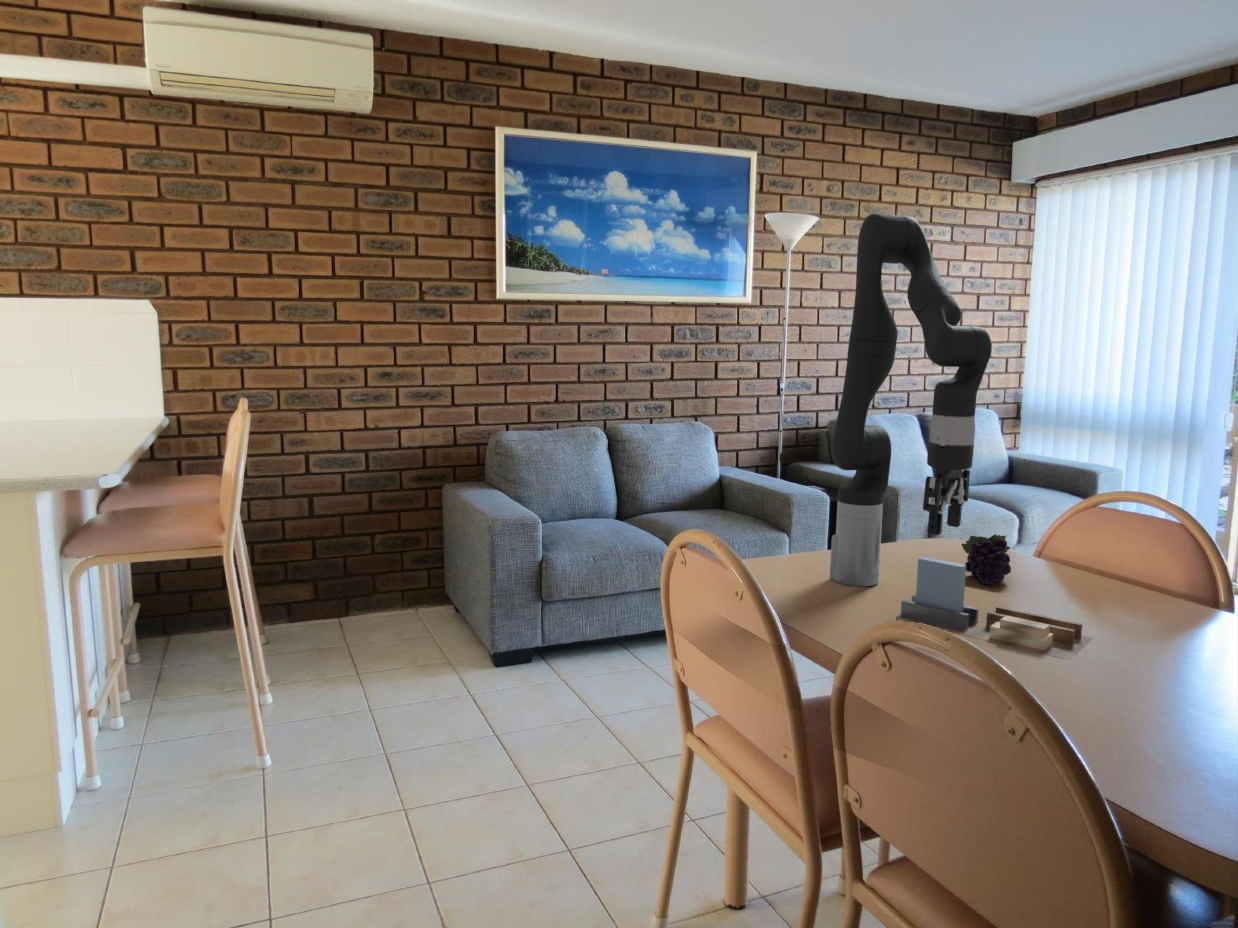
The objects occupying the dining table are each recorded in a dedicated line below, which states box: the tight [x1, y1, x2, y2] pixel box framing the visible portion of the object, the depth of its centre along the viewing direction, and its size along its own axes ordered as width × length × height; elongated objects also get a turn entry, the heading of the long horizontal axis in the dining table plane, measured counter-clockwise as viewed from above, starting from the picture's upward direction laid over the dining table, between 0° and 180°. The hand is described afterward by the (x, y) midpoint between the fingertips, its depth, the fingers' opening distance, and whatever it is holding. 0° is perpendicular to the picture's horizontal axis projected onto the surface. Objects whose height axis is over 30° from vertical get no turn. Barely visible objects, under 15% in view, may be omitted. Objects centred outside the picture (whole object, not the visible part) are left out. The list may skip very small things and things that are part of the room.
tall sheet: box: [915, 556, 967, 613], centre depth 158 cm, size 8×2×10 cm, turn 46°
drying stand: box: [895, 594, 981, 633], centre depth 159 cm, size 12×9×4 cm
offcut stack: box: [989, 615, 1053, 651], centre depth 147 cm, size 9×4×4 cm, turn 48°
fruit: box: [961, 533, 1012, 586], centre depth 188 cm, size 10×11×15 cm
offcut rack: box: [961, 605, 1094, 661], centre depth 149 cm, size 17×14×4 cm
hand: (943, 530), depth 156 cm, fingers open, 8 cm apart
